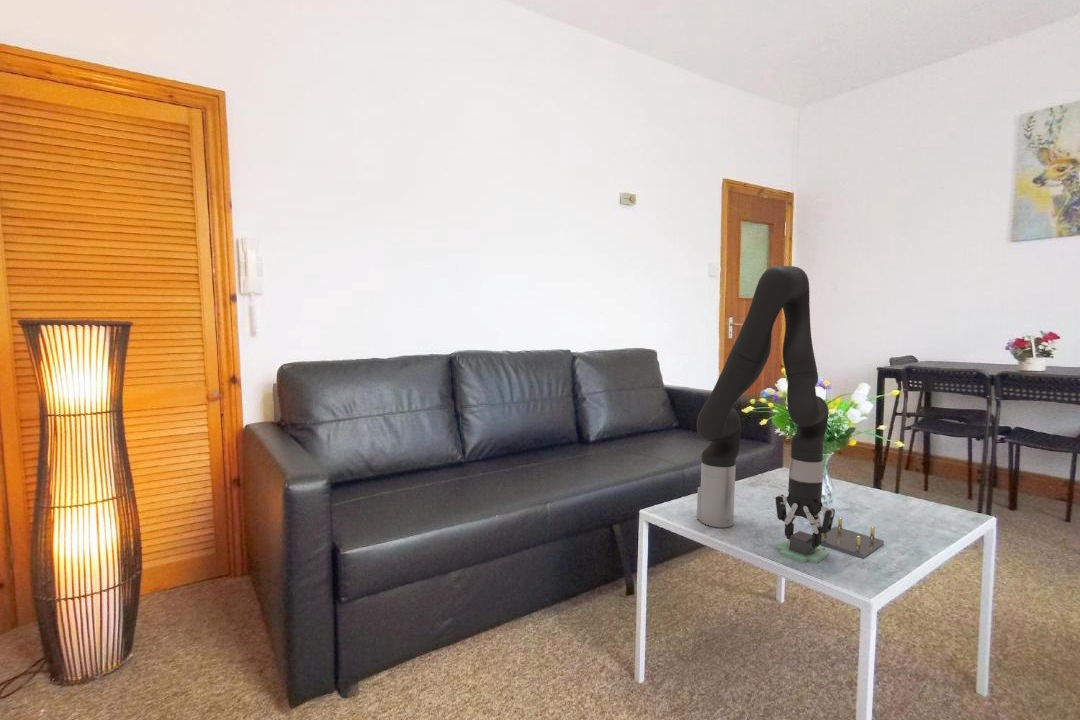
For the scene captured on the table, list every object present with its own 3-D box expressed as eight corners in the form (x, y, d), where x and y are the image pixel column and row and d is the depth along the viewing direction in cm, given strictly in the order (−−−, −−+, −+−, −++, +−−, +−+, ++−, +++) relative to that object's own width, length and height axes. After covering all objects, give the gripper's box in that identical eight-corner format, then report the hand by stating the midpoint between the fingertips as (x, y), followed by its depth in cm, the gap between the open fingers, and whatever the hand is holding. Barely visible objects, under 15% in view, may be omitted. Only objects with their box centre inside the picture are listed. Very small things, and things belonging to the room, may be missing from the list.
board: (771, 553, 137) (772, 535, 137) (793, 541, 144) (793, 524, 144) (811, 568, 130) (812, 548, 129) (832, 554, 136) (833, 536, 136)
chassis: (812, 542, 143) (813, 525, 142) (834, 529, 151) (835, 513, 150) (862, 558, 133) (864, 540, 133) (883, 544, 142) (884, 527, 141)
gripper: (769, 472, 138) (767, 537, 140) (828, 487, 127) (825, 557, 129) (784, 467, 143) (782, 529, 145) (842, 480, 132) (839, 548, 133)
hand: (802, 542), depth 137 cm, fingers open, 5 cm apart
